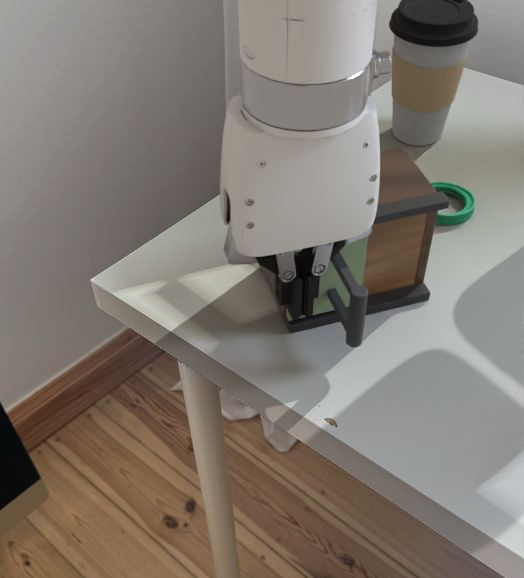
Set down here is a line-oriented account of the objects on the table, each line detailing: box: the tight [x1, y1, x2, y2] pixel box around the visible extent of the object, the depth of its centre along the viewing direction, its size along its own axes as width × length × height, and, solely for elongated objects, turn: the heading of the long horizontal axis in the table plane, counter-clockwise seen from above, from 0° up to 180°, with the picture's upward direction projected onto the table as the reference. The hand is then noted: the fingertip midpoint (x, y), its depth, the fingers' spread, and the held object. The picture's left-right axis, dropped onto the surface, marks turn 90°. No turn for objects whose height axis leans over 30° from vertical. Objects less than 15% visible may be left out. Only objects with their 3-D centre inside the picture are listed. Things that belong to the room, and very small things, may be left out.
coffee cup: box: [388, 0, 479, 147], centre depth 83 cm, size 9×9×15 cm
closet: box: [259, 145, 451, 334], centre depth 67 cm, size 10×14×12 cm
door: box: [286, 236, 368, 348], centre depth 62 cm, size 7×7×9 cm
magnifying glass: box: [429, 181, 477, 226], centre depth 78 cm, size 15×6×2 cm, turn 84°
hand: (296, 305), depth 56 cm, fingers closed
